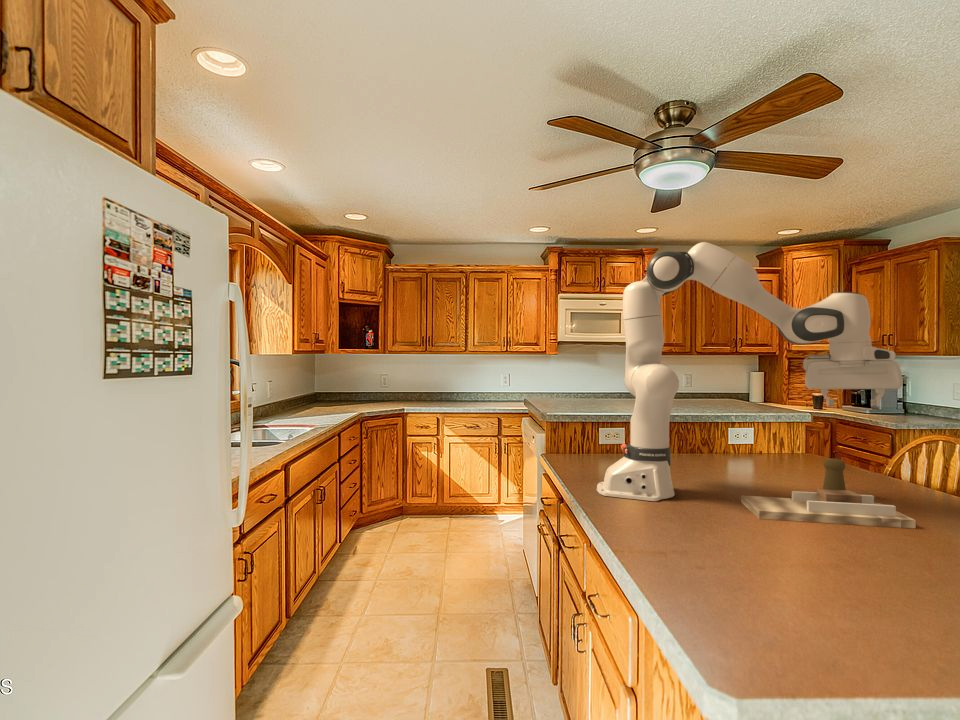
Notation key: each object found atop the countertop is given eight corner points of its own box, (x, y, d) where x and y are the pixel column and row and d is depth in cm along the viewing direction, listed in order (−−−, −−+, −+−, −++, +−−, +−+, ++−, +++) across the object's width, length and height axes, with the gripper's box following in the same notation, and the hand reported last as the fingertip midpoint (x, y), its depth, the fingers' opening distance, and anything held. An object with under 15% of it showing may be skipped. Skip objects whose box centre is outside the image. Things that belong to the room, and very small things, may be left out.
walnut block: (826, 509, 123) (826, 494, 123) (816, 504, 128) (816, 488, 128) (861, 511, 122) (861, 496, 122) (851, 506, 127) (851, 490, 127)
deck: (759, 518, 122) (759, 510, 122) (741, 502, 136) (741, 495, 136) (915, 528, 115) (915, 520, 115) (880, 510, 129) (880, 503, 129)
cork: (838, 493, 146) (838, 457, 146) (852, 499, 140) (852, 461, 140) (817, 493, 146) (817, 456, 146) (829, 498, 140) (829, 460, 140)
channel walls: (808, 511, 122) (808, 501, 122) (791, 500, 132) (791, 491, 132) (895, 516, 118) (895, 506, 118) (871, 504, 128) (871, 495, 128)
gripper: (804, 355, 129) (806, 407, 129) (903, 352, 119) (905, 408, 119) (801, 355, 135) (803, 404, 135) (896, 352, 125) (898, 405, 125)
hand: (852, 406), depth 127 cm, fingers open, 8 cm apart
